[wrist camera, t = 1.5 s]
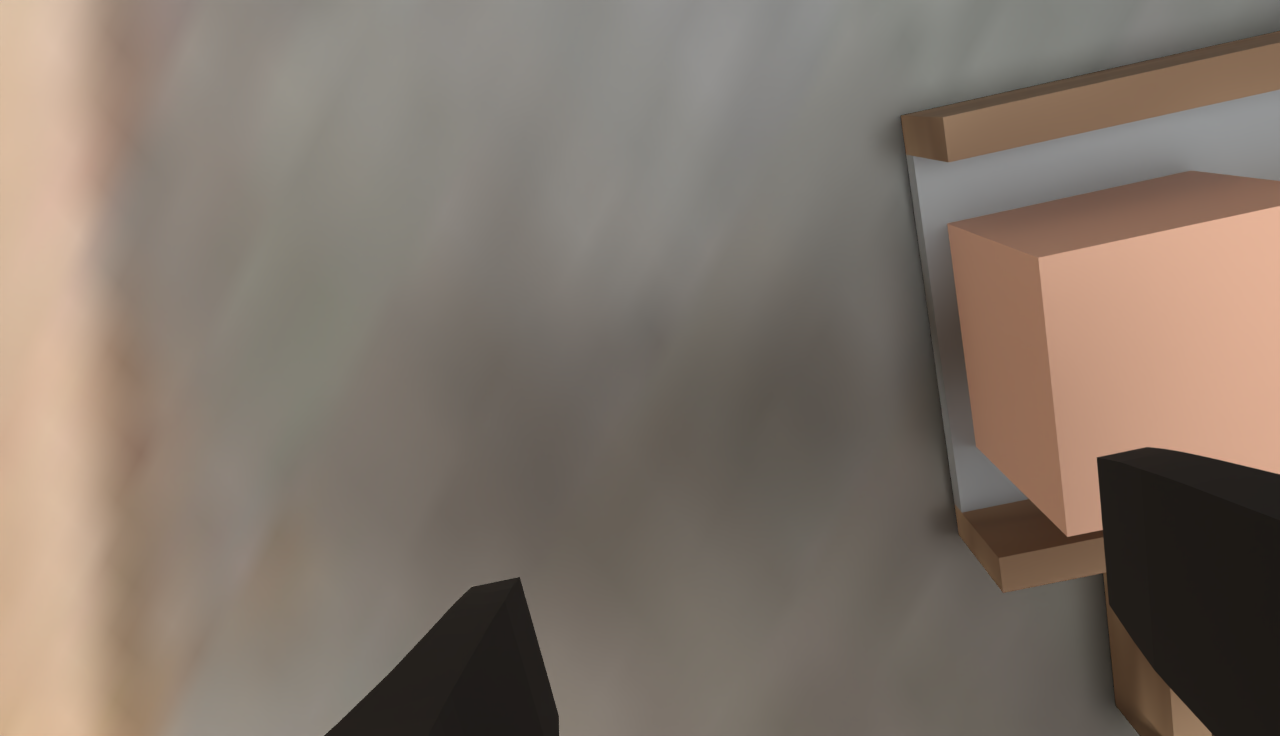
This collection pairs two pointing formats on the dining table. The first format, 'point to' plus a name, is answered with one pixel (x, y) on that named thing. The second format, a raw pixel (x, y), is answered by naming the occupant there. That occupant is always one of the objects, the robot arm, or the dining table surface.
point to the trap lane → (1050, 170)
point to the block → (1122, 332)
